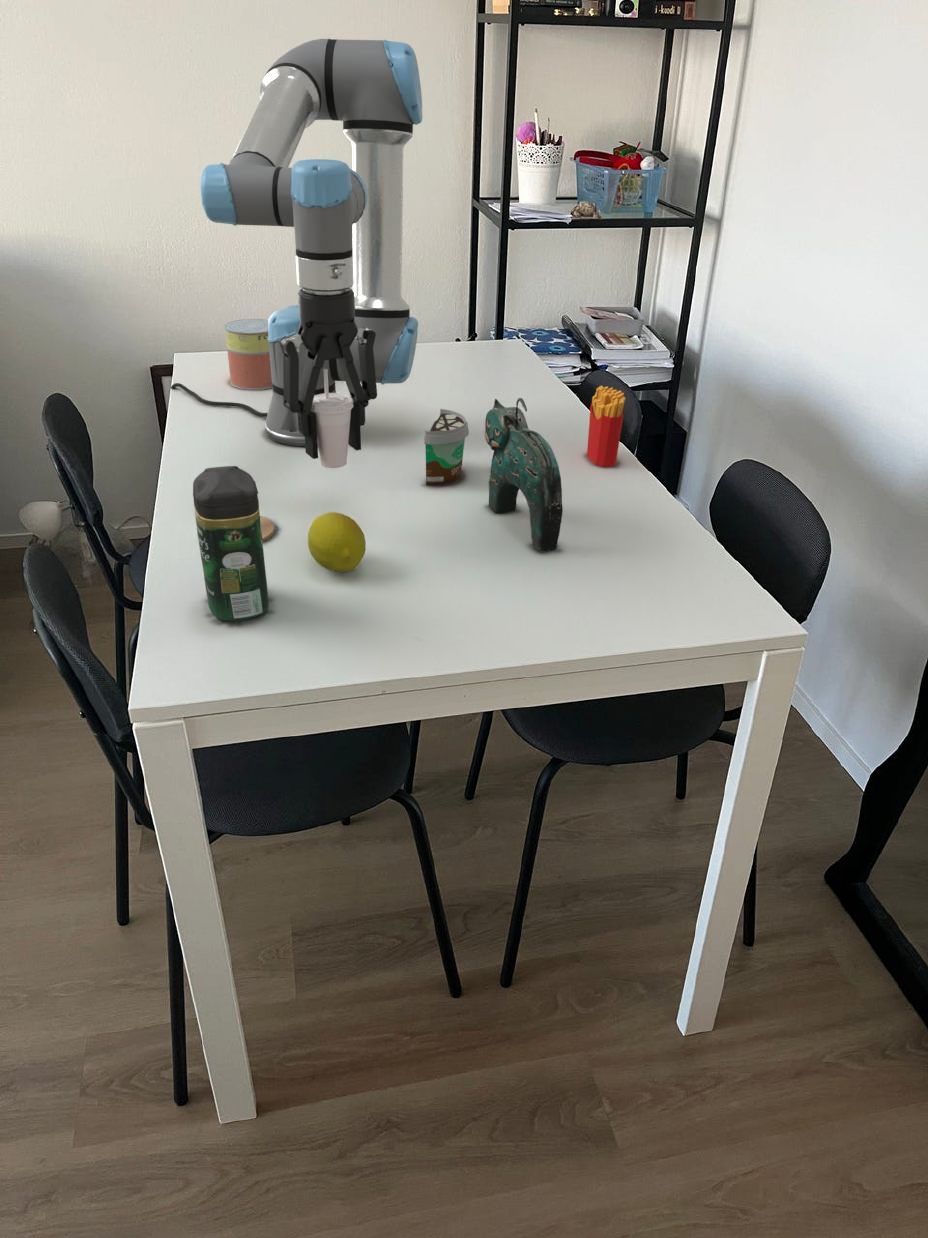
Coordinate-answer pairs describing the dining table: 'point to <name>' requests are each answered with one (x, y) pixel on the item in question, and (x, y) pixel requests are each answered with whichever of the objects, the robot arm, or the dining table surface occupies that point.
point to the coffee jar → (231, 543)
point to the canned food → (249, 354)
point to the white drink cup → (332, 425)
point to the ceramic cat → (524, 473)
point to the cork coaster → (266, 528)
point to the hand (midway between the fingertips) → (333, 450)
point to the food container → (445, 448)
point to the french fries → (605, 426)
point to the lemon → (336, 542)
